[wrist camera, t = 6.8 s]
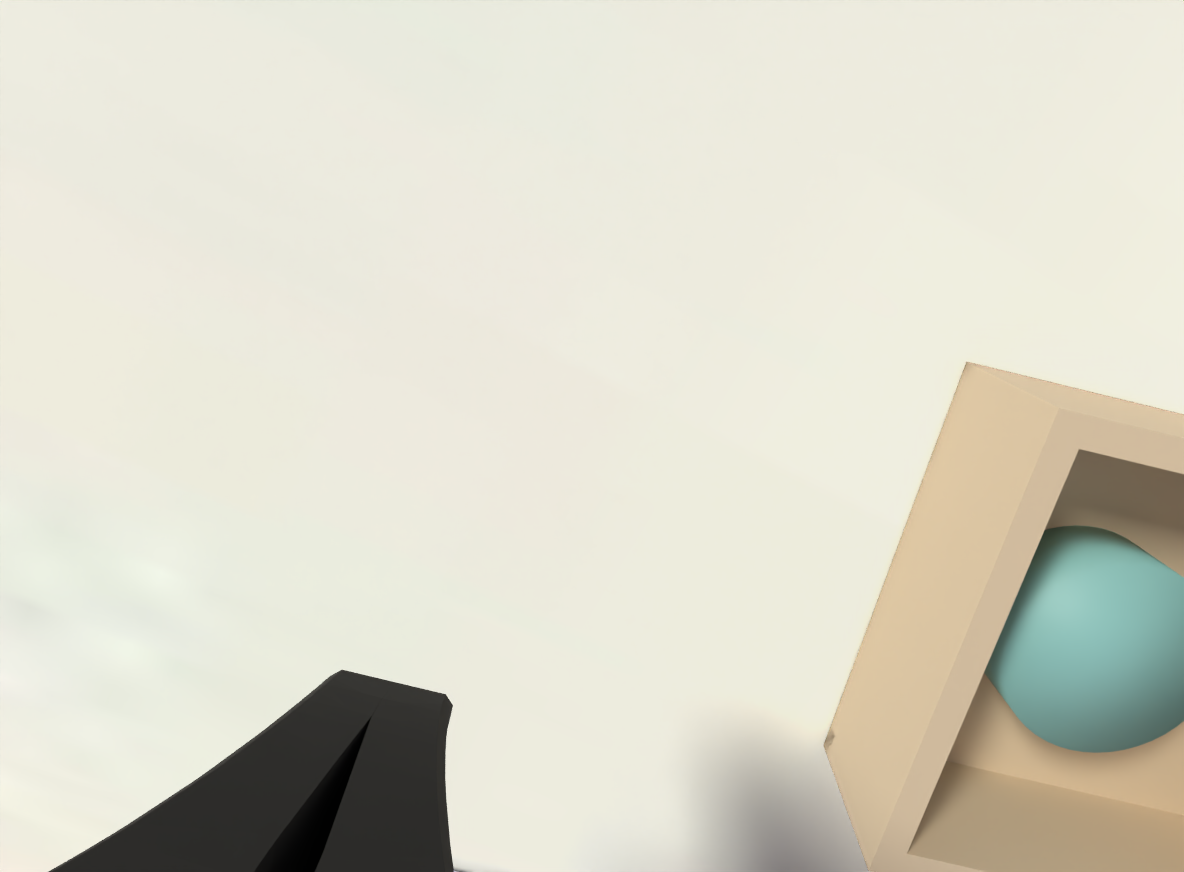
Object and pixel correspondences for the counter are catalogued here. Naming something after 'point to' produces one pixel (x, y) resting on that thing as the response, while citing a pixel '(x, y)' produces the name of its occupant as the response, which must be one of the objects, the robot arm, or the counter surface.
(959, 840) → the box
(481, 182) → the counter surface
